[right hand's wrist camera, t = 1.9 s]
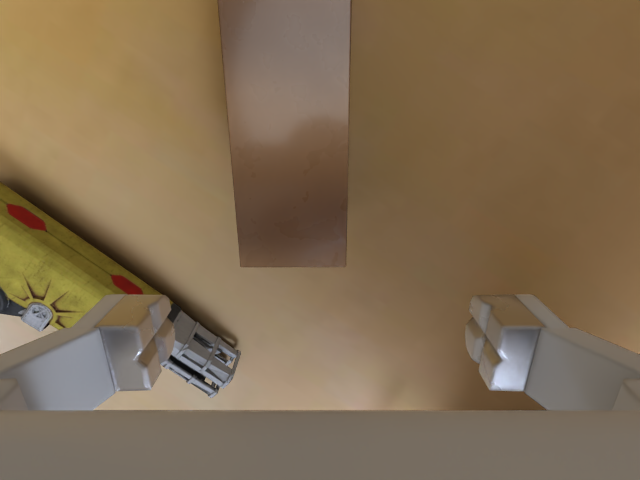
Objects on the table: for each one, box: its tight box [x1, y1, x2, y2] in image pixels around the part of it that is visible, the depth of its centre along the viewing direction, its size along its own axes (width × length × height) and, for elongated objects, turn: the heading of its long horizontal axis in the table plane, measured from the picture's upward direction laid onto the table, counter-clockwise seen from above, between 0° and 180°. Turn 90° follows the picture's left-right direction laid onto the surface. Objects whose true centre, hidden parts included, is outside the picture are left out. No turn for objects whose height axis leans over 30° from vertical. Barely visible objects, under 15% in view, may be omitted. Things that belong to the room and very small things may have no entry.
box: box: [218, 0, 352, 267], centre depth 22 cm, size 25×6×9 cm, turn 0°
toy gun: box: [0, 182, 241, 398], centre depth 31 cm, size 5×24×15 cm
